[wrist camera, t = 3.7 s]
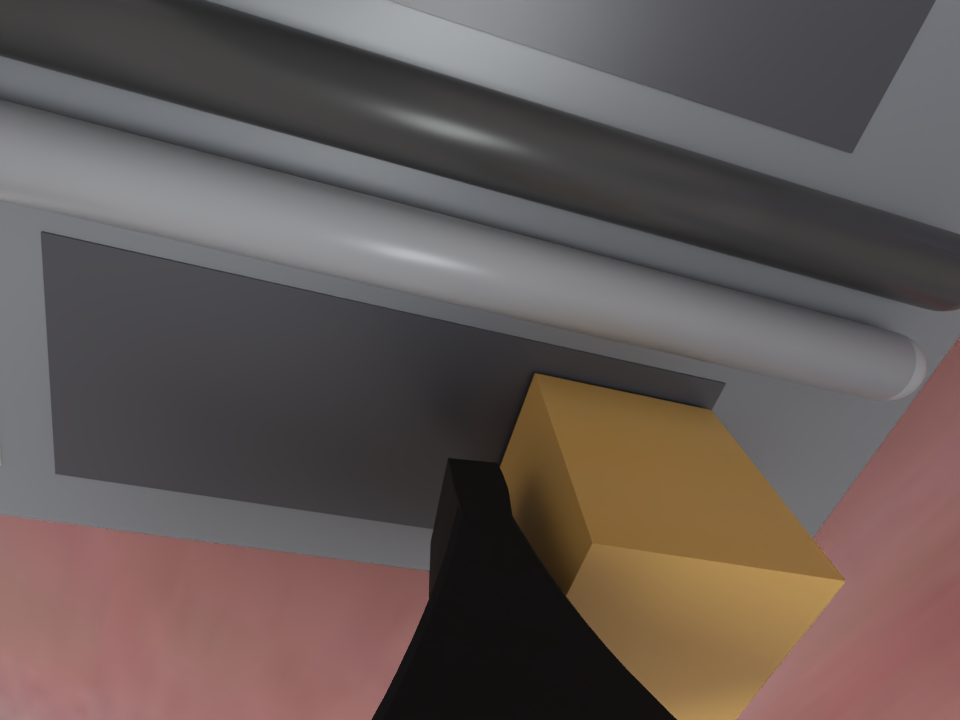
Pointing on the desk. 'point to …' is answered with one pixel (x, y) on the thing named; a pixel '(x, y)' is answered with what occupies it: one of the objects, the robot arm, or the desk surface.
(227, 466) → the slider rail fixture
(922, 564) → the desk surface
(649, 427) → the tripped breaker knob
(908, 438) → the desk surface
